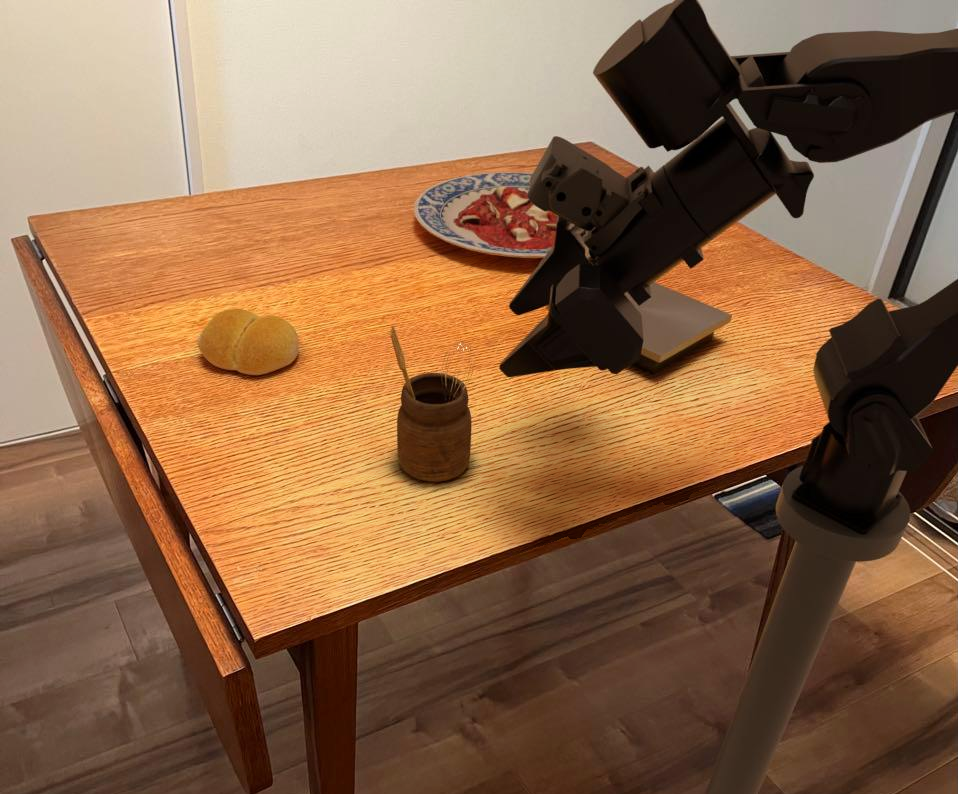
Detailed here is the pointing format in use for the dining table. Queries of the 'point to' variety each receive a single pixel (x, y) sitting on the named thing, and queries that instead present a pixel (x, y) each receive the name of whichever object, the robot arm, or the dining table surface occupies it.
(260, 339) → the bread roll
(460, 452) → the utensil holder
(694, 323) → the platform
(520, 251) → the ceramic plate
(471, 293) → the dining table surface
